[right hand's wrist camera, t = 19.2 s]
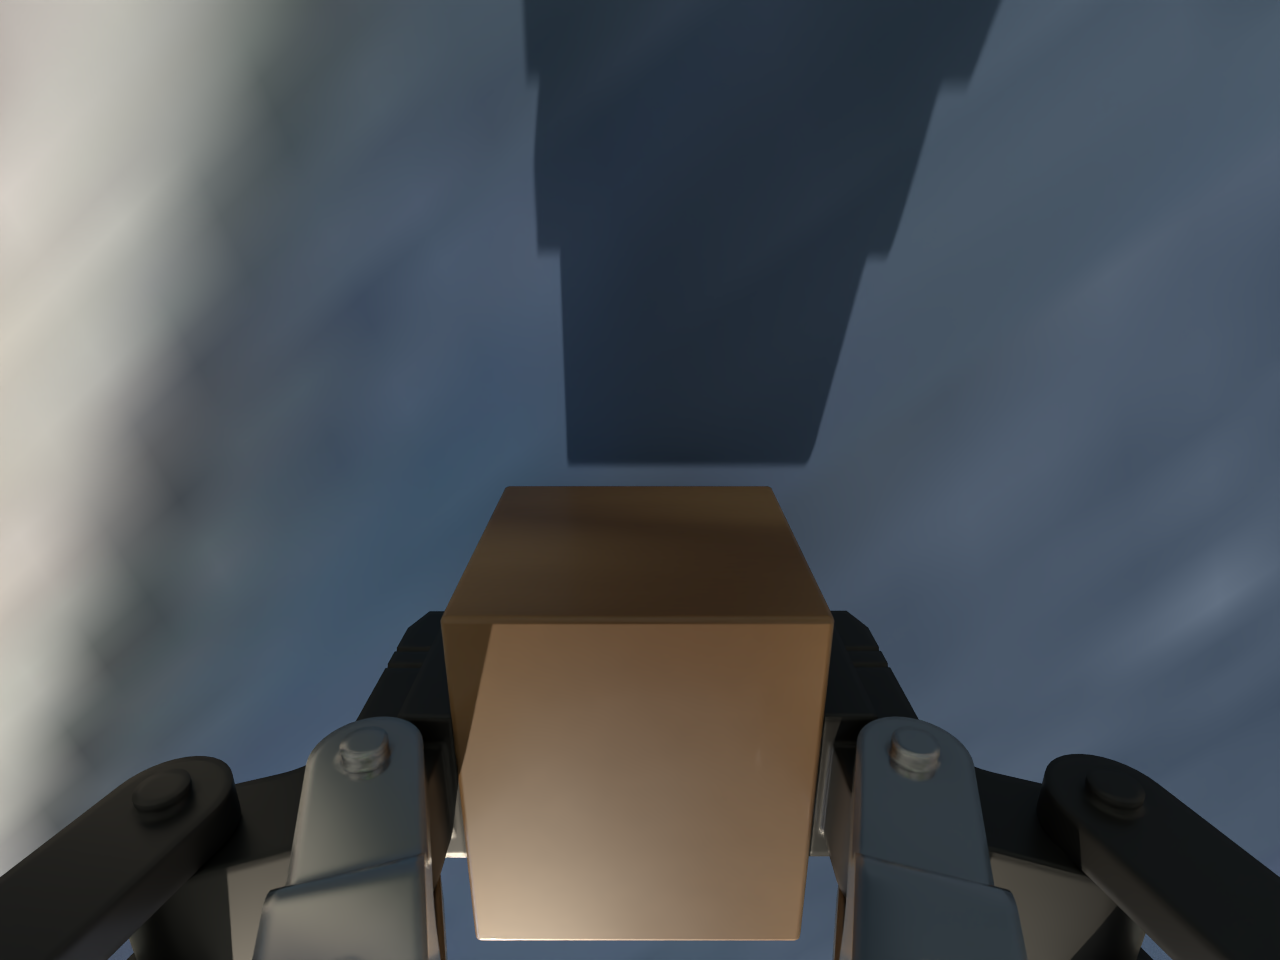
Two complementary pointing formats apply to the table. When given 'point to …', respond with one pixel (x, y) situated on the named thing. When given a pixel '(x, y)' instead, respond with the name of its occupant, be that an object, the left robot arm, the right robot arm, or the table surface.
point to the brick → (637, 714)
